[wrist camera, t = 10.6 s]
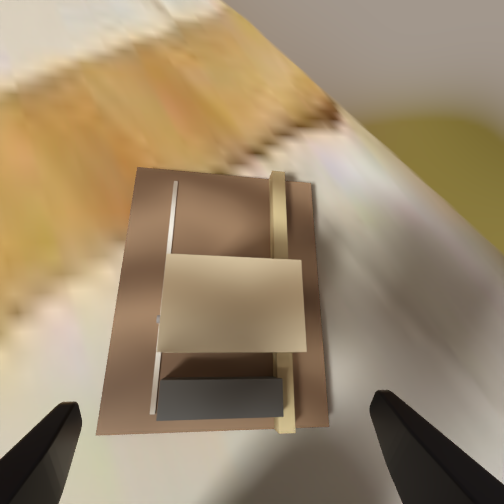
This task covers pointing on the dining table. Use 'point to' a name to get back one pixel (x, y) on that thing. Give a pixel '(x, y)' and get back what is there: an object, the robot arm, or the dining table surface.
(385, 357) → the dining table surface
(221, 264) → the cream rectangular block
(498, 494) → the robot arm
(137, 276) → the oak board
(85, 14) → the dining table surface
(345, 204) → the dining table surface
